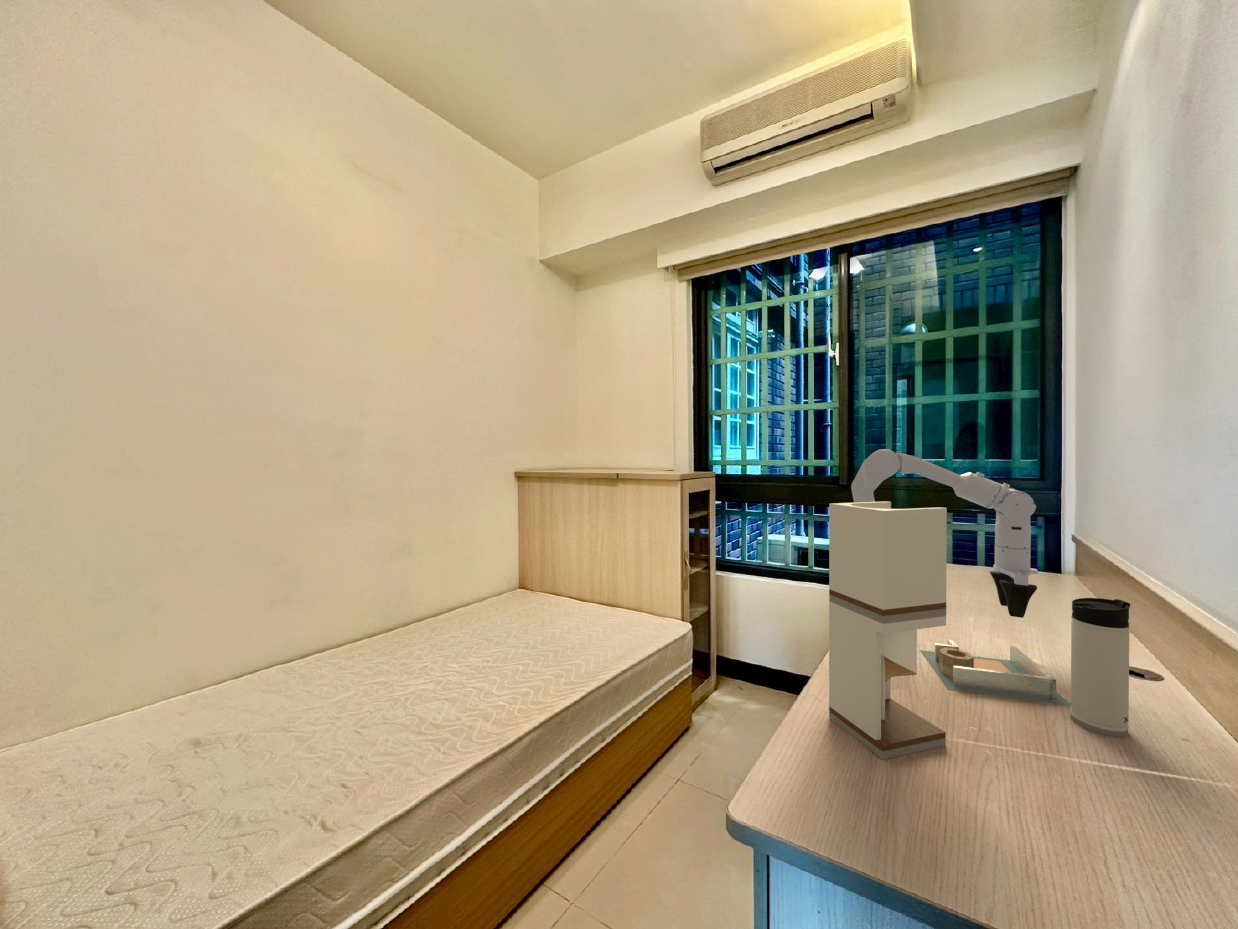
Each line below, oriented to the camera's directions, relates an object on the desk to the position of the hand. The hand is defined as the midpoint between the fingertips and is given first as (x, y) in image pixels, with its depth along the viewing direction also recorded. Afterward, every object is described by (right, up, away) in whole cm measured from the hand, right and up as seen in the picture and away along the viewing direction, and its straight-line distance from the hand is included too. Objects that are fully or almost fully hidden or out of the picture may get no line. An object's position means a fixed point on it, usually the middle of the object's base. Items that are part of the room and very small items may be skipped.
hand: (1011, 611), depth 97 cm
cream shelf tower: (-42, -11, -26) cm, 50 cm away
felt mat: (-12, -10, -8) cm, 17 cm away
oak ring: (-17, -10, -8) cm, 21 cm away
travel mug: (-8, -10, -25) cm, 28 cm away
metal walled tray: (-12, -10, -8) cm, 17 cm away
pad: (-9, -10, -5) cm, 14 cm away
